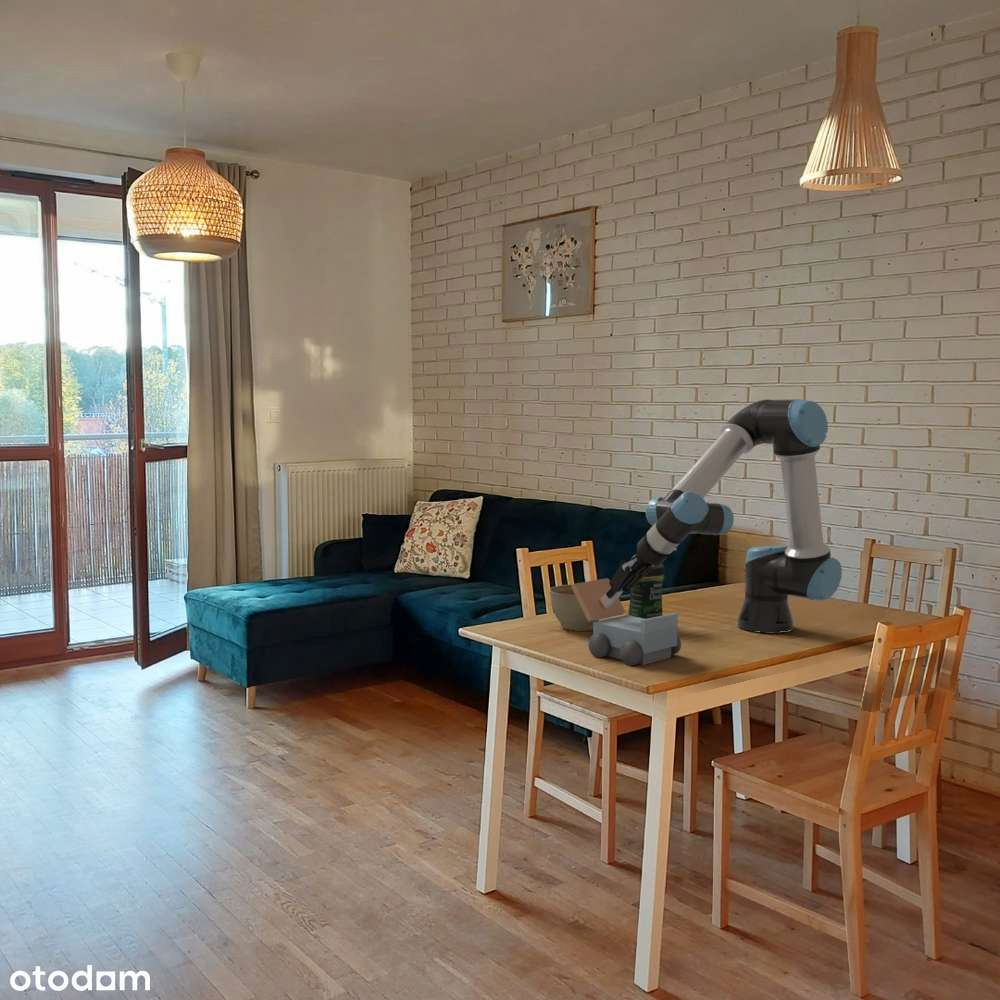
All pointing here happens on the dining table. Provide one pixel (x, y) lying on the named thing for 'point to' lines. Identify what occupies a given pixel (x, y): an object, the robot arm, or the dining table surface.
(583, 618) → the planter bowl
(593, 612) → the tailgate
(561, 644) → the dining table surface
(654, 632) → the flatbed
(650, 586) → the coffee jar
